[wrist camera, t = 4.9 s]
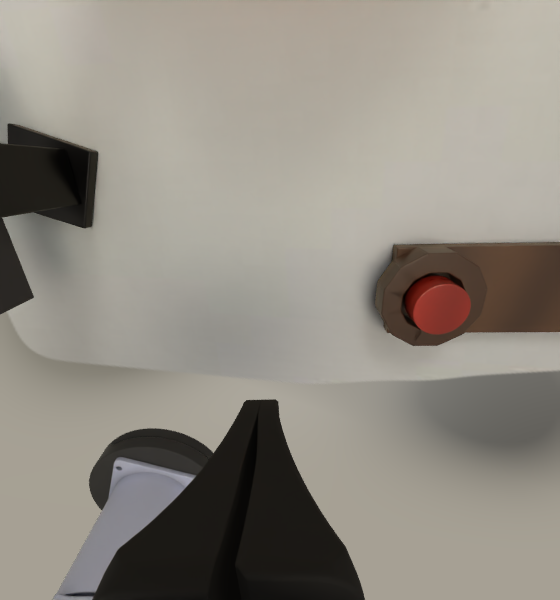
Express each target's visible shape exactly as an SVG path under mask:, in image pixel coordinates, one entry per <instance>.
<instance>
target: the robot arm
mask: <svg viewBox="0 0 560 600" xmlns="http://www.w3.org/2000/svg"><path fill="white" fill-rule="evenodd" d="M52 600H365V598H364V594H363V590H362V587H361V583H360V580H359V578H358V575H357V572H356V570H355V568H354V565H353V563H352V561H351V558H350V556H349V554H348V551H347V549H346V547H345V545H344V544H343V543H342V541H341V540H340V539H339V537H338V536H337V534H336V533H335V532H334V530H333V529H332V528H331V526H330V525H329V523H328V522H327V520H326V519H325V517H324V515H323V514H322V512H321V511H320V509H319V508H318V506H317V504H316V502H315V501H314V499H313V498H312V496H311V494H310V492H309V491H308V489H307V487H306V485H305V483H304V481H303V479H302V477H301V475H300V473H299V471H298V469H297V467H296V465H295V463H294V460H293V458H292V455H291V453H290V450H289V448H288V445H287V442H286V439H285V436H284V433H283V430H282V426H281V422H280V418H279V407H278V401H277V400H246V401H245V402H244V404H243V406H242V408H241V410H240V412H239V414H238V416H237V418H236V419H235V421H234V423H233V425H232V426H231V428H230V429H229V431H228V433H227V435H226V436H225V438H224V439H223V441H222V442H221V444H220V445H219V446H218V448H217V449H216V451H215V452H214V453H213V455H212V456H211V458H210V459H209V460H208V462H207V463H206V464H205V466H204V467H203V468H202V469H201V471H200V472H199V473H198V474H197V475H193V474H189V473H185V472H181V471H177V470H173V469H169V468H165V467H161V466H157V465H153V464H149V463H145V462H141V461H137V460H132V459H128V458H124V457H118V458H116V460H115V462H114V466H113V473H112V479H111V485H110V492H109V498H108V501H107V502H106V504H105V506H104V508H103V510H102V512H101V513H100V515H99V517H98V519H97V521H96V523H95V524H94V526H93V528H92V530H91V532H90V534H89V535H88V537H87V539H86V541H85V543H84V544H83V546H82V548H81V550H80V552H79V553H78V555H77V557H76V559H75V561H74V563H73V564H72V566H71V568H70V570H69V572H68V573H67V576H66V577H65V579H64V581H63V583H62V585H61V586H60V588H59V590H58V592H57V594H55V596H54V598H53V599H52Z"/></svg>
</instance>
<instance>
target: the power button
mask: <svg viewBox="0 0 560 600" xmlns="http://www.w3.org/2000/svg"><path fill="white" fill-rule="evenodd" d="M470 308H471V302H470V298H469V295H468V293H467V292H466V291H465V290H464V289H463V288H461V287H460V286H459V285H457V284H456V283H454V282H453V281H451V280H450V279H448V278H446V277H443V276H437V275H435V276H428V277H425V278H422V279H420V280H419V281H417V282H416V283H415V284H413V285H412V287H411V288H410V289H409V290H408V292H407V294H406V297H405V310H406V312H407V314H408V315H409V317H410V318H411V319H412V320H413V321H414V323H415V324H416V325H417V326H418V328H420V329H421V330H422V331H424V332H426V333H429V334H445V333H448V332H451V331H453V330H455V329H456V328H458V327H459V326H460V325H461V324H462V323H463V322H464V321H465V320H466V318H467V317H468V315H469V312H470Z"/></svg>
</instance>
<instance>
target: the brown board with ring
mask: <svg viewBox="0 0 560 600" xmlns="http://www.w3.org/2000/svg"><path fill="white" fill-rule="evenodd" d="M435 275H437V276H443V277H446V278H448V279H450V280H451V281H453V282H454V283H456V284H457V285H459V286H460V287H461V288H463V289H464V290H465V291H466V292H467V293H468V295H469V298H470V302H471V308H470V312H469V315H468V317H467V318H466V320H465V321H464V322H463V323H462V324H461V325H460V326H459V327H458V328H456V329H455V330H453V331H451V332H448V333H445V334H429V333H426V332H424V331H422V330H421V329H420V328H418V326H417V325H416V324H415V323H414V321H413V320H412V319H411V318H410V317H409V315H408V314H407V312H406V310H405V297H406V294H407V292H408V290H409V289H410V288H411V287H412V285H413V284H415V283H416V282H417V281H419V280H420V279H422V278H425V277H428V276H435ZM375 305H376V308H377V310H378V312H379V314H380V316H381V317H382V319H383V321H384V328H385V330H386V332H387V333H391V334H392V335H394V336H395V337H397V338H399V339H401V340H403V341H405V342H407V343H409V344H410V345H413V346H438V345H440V344H442V343H444V342H447V341H449V340H451V339H453V338H456V337H458V336H460V335H462V334H464V333H465V332H560V242H543V243H476V244H409V245H394V246H393V254H392V262H391V263H390V265H389V266H388V267H387V269H386V270H385V272H384V273H383V274H382V276H381V277H380V279H379V280H378V282H377V290H376V299H375Z"/></svg>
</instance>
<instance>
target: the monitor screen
mask: <svg viewBox="0 0 560 600" xmlns="http://www.w3.org/2000/svg"><path fill="white" fill-rule="evenodd" d="M32 298H34V296H33V294H32V291H31V289H30V286H29V284H28V281H27V279H26V276H25V274H24V271H23V269H22V266H21V264H20V261H19V259H18V256H17V254H16V251H15V249H14V246H13V244H12V241H11V239H10V236H9V234H8V231H7V229H6V226H5V224H4V221H3V219H2V218H0V314H2V313H4V312H6V311H8V310H10V309H12V308H14V307H16V306H18V305H20V304H22V303H24V302H26V301H28V300H30V299H32Z"/></svg>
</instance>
